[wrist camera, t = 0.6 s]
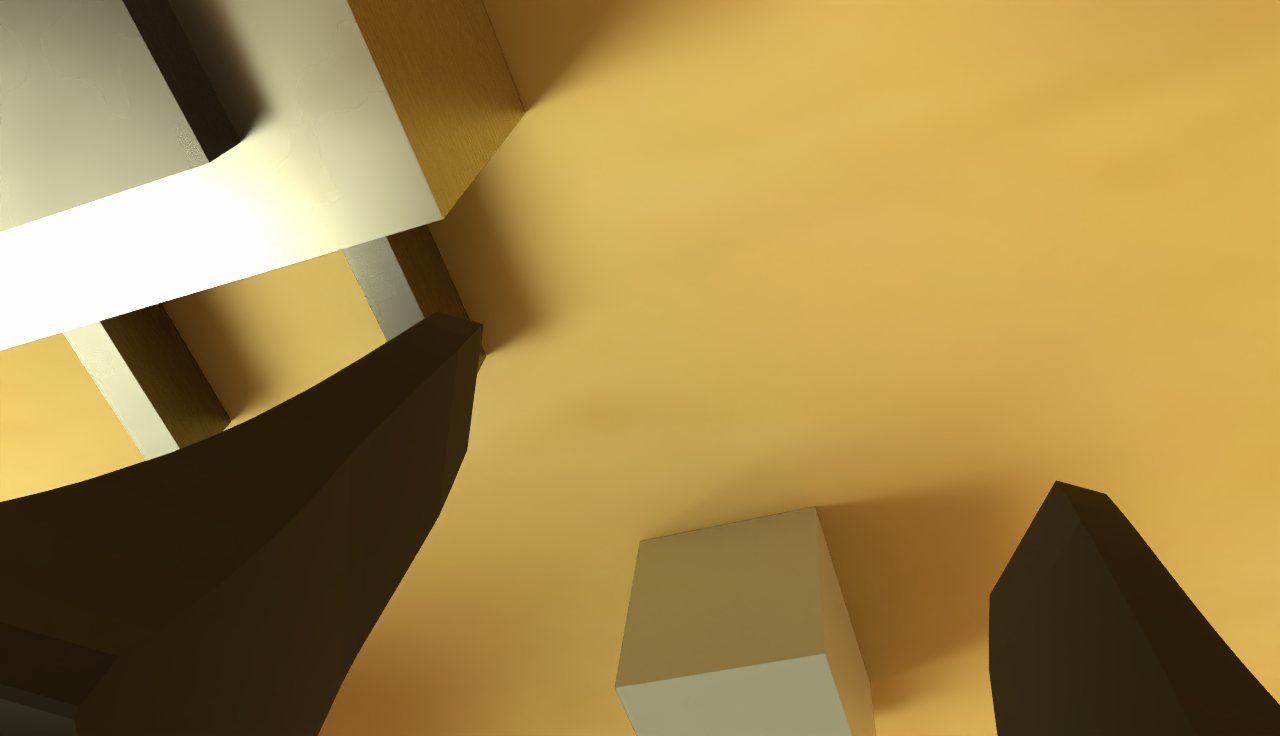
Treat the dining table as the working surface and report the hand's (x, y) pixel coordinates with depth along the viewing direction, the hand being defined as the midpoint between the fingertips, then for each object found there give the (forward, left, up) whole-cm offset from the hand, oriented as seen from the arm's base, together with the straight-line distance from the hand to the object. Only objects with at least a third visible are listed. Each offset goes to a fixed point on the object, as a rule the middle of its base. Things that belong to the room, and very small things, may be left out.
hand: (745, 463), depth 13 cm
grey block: (-3, -11, -10) cm, 15 cm away
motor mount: (-12, +4, -10) cm, 16 cm away
